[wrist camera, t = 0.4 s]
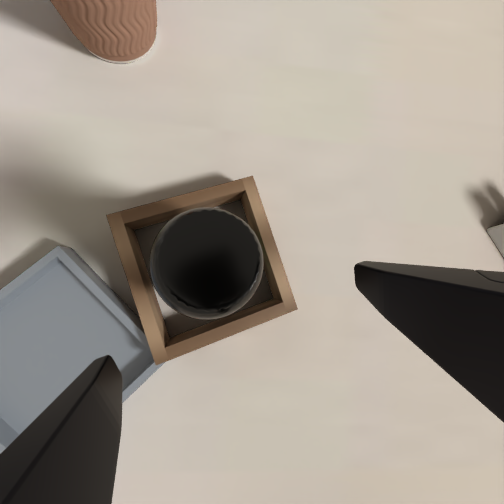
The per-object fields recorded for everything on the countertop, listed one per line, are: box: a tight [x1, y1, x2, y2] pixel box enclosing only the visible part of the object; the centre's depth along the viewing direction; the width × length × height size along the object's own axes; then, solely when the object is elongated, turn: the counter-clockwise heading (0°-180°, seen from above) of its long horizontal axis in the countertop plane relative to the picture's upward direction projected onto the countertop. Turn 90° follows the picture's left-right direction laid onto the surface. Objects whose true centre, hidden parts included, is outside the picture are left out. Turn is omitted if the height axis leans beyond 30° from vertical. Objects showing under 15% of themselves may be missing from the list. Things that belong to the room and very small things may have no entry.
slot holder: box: [106, 176, 298, 365], centre depth 22 cm, size 12×12×3 cm
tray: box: [0, 246, 165, 454], centre depth 20 cm, size 12×12×2 cm
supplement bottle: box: [149, 207, 264, 320], centre depth 18 cm, size 7×7×12 cm
